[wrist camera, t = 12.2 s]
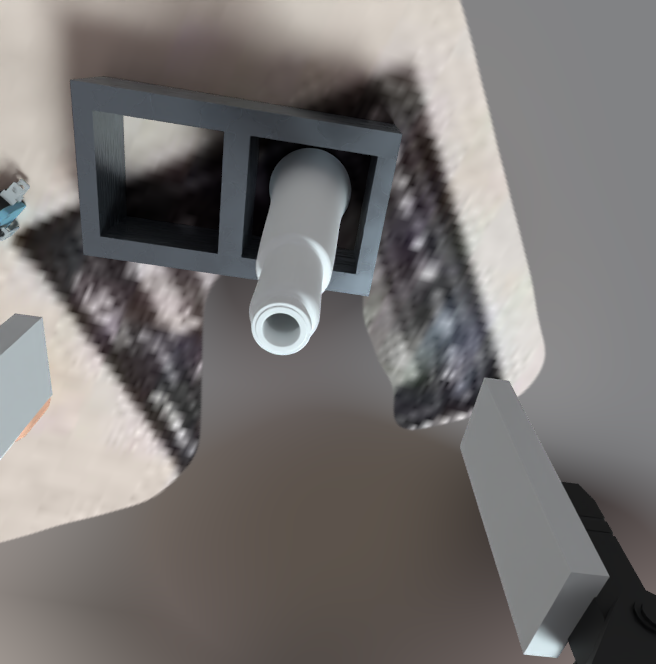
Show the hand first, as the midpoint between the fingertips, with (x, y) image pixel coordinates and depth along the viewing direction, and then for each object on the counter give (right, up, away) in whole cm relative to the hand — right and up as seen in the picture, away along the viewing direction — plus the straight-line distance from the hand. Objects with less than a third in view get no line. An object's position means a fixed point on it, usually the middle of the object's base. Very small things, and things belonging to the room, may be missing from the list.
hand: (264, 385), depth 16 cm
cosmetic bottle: (+1, +12, +23) cm, 26 cm away
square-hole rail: (-4, +13, +22) cm, 26 cm away
